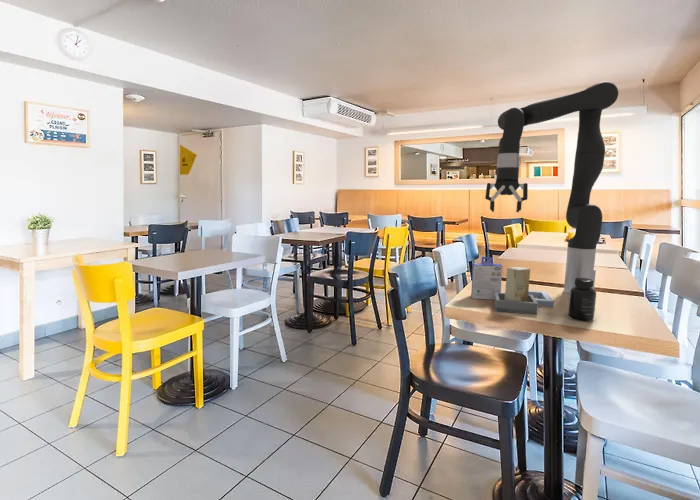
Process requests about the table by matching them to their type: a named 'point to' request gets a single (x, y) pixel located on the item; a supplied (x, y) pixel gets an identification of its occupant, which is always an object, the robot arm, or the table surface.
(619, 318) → the table surface
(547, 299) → the socket block
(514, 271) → the skincare box
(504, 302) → the parts tray
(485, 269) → the ink cartridge box
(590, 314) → the supplement bottle
